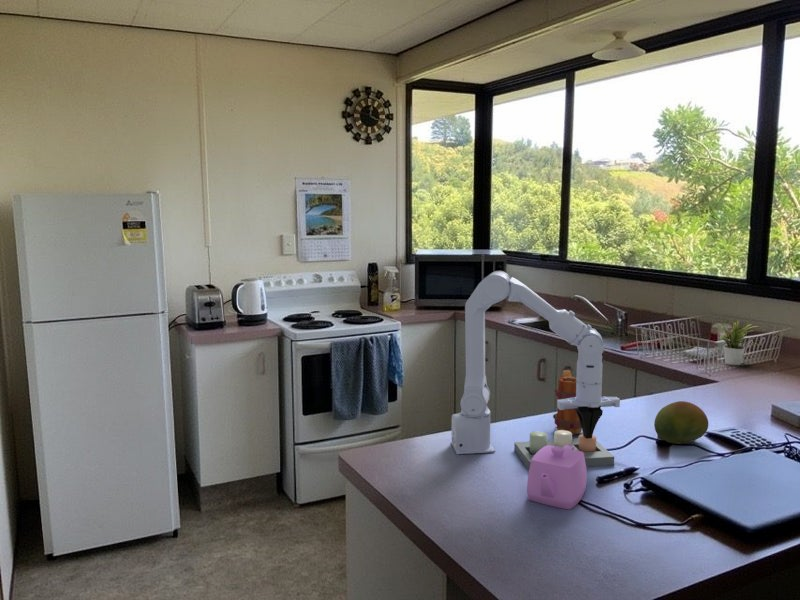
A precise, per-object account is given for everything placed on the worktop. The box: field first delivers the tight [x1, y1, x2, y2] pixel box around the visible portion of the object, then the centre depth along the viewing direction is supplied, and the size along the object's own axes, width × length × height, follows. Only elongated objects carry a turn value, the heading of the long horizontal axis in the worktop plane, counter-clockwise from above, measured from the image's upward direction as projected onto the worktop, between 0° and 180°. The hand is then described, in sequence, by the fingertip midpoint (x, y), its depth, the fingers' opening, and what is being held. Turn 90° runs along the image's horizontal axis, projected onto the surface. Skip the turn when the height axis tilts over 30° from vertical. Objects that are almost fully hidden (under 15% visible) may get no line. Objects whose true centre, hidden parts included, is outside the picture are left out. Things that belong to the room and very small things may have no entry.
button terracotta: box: [578, 433, 597, 452], centre depth 152 cm, size 4×4×4 cm
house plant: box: [717, 319, 759, 366], centre depth 233 cm, size 14×14×16 cm
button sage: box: [529, 431, 548, 455], centre depth 151 cm, size 4×4×4 cm
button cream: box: [553, 430, 573, 448], centre depth 151 cm, size 4×4×4 cm
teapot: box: [526, 445, 588, 510], centre depth 131 cm, size 18×10×10 cm, turn 148°
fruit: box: [653, 400, 709, 445], centre depth 159 cm, size 12×12×10 cm
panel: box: [513, 438, 615, 470], centre depth 152 cm, size 20×12×2 cm, turn 96°
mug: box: [552, 369, 583, 436], centre depth 170 cm, size 15×8×15 cm, turn 173°
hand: (587, 436), depth 152 cm, fingers closed
